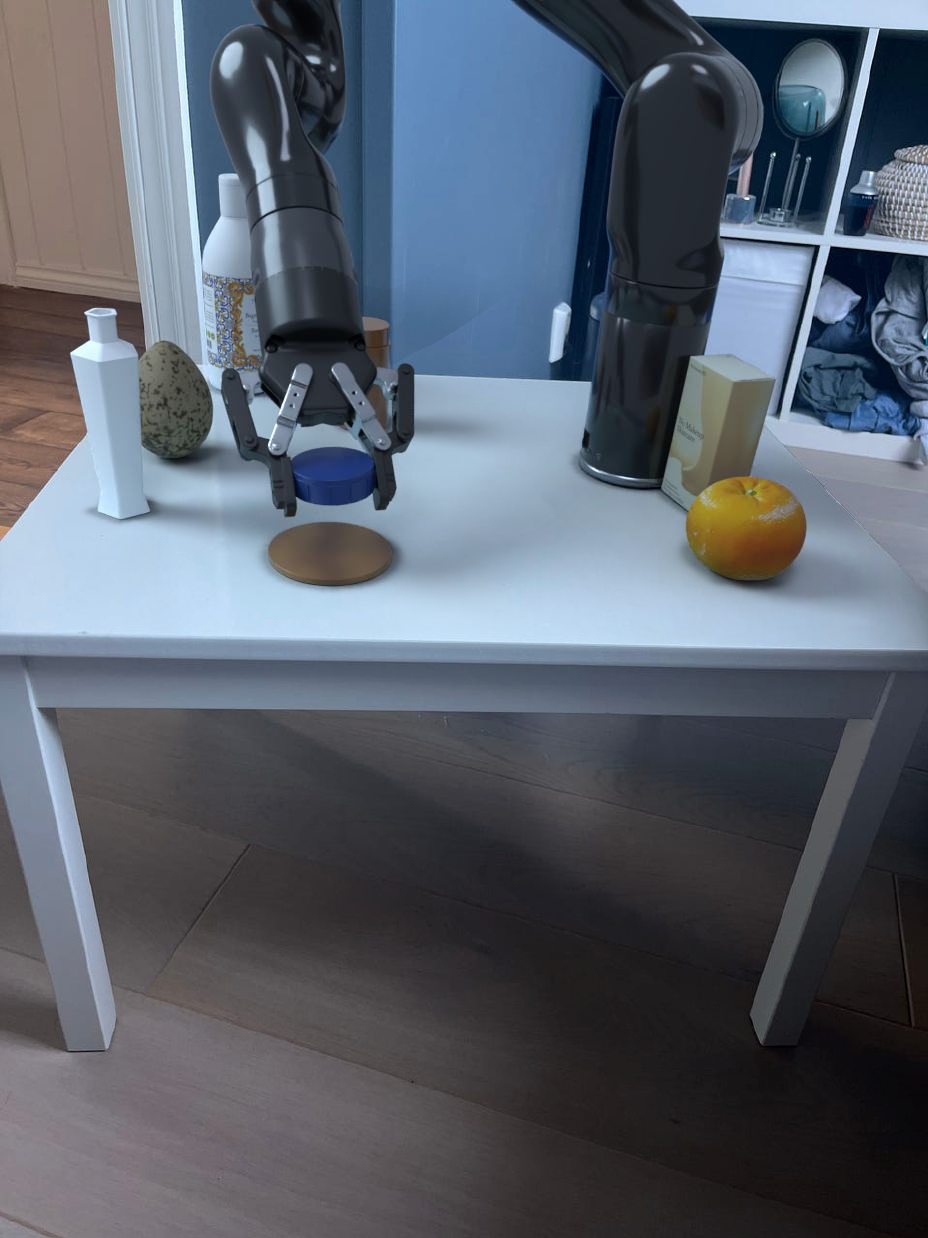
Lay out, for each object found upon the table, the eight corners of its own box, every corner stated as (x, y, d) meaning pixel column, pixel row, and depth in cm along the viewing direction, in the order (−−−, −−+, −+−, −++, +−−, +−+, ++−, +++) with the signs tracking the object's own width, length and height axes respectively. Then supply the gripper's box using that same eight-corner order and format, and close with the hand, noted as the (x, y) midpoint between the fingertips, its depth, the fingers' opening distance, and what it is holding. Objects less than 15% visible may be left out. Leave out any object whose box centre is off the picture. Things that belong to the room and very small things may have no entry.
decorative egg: (158, 434, 88) (147, 323, 83) (230, 448, 87) (224, 336, 82) (113, 463, 82) (99, 345, 77) (190, 478, 81) (180, 359, 76)
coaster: (376, 523, 76) (377, 517, 76) (405, 579, 69) (405, 573, 69) (260, 531, 74) (260, 525, 73) (277, 591, 67) (277, 584, 66)
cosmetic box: (658, 490, 86) (685, 353, 79) (699, 486, 87) (729, 351, 81) (701, 522, 81) (733, 379, 74) (743, 516, 83) (778, 375, 76)
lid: (274, 487, 68) (272, 461, 67) (337, 464, 72) (336, 440, 71) (328, 513, 65) (327, 488, 64) (391, 488, 69) (391, 463, 68)
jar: (381, 412, 97) (385, 315, 92) (393, 431, 93) (397, 330, 88) (332, 414, 96) (332, 316, 91) (342, 433, 92) (343, 331, 87)
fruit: (654, 499, 75) (729, 436, 70) (731, 524, 80) (806, 466, 74) (681, 591, 71) (762, 531, 66) (760, 612, 76) (842, 558, 70)
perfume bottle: (139, 525, 73) (116, 324, 65) (85, 516, 74) (56, 316, 66) (167, 500, 77) (149, 308, 69) (116, 492, 78) (91, 300, 70)
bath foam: (233, 400, 97) (222, 183, 86) (196, 380, 101) (181, 171, 91) (291, 388, 101) (287, 180, 91) (253, 369, 105) (245, 168, 95)
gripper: (392, 317, 76) (425, 520, 73) (204, 319, 72) (229, 535, 69) (412, 262, 69) (449, 484, 66) (204, 261, 65) (233, 498, 62)
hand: (336, 509), depth 68 cm, fingers closed on lid, 6 cm apart
